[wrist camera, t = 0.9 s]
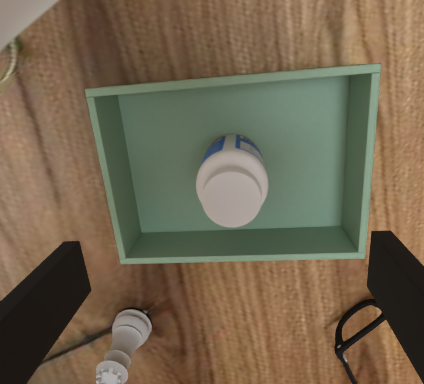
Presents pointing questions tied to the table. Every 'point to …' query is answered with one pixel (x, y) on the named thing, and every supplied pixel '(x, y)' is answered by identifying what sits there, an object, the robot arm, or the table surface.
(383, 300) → the robot arm
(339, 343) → the glasses
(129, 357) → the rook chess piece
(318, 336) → the table surface
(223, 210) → the pill bottle
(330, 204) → the tote
